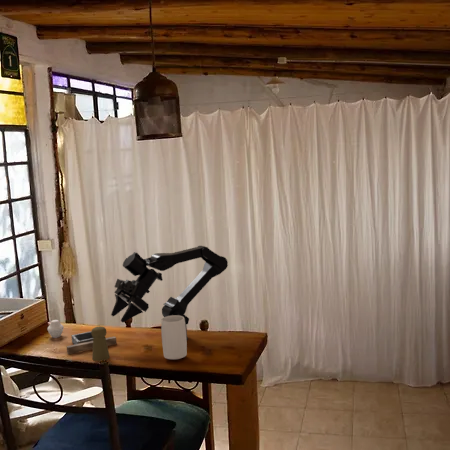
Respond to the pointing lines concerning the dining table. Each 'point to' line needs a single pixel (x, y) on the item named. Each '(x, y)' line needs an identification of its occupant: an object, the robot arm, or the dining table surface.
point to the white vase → (55, 328)
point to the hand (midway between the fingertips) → (116, 318)
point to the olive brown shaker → (99, 344)
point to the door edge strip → (88, 345)
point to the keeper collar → (82, 338)
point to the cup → (174, 337)
